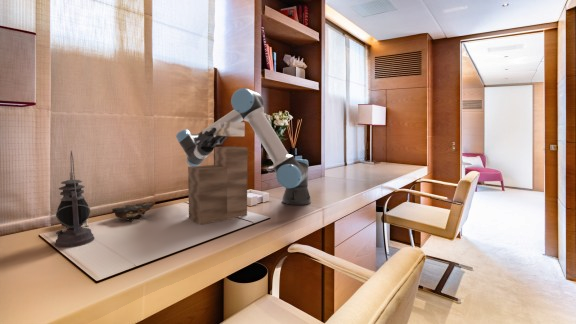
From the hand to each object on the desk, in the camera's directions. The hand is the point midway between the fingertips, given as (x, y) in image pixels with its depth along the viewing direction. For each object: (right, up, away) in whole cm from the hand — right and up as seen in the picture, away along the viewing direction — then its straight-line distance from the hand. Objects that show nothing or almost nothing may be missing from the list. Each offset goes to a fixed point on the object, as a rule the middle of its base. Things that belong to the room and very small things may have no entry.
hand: (224, 125), depth 133 cm
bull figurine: (-51, -41, -20) cm, 68 cm away
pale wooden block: (0, -5, 0) cm, 5 cm away
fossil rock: (-36, -40, -8) cm, 55 cm away
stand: (-1, -40, -4) cm, 40 cm away
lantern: (-42, -43, -35) cm, 69 cm away
